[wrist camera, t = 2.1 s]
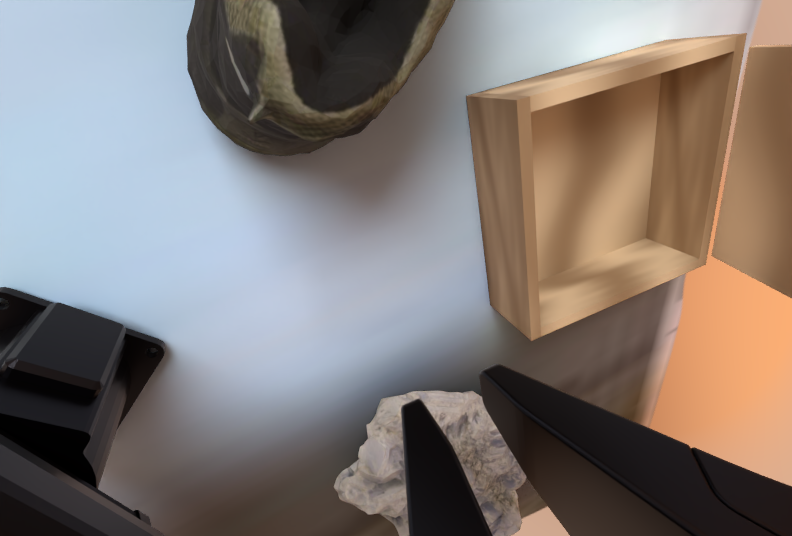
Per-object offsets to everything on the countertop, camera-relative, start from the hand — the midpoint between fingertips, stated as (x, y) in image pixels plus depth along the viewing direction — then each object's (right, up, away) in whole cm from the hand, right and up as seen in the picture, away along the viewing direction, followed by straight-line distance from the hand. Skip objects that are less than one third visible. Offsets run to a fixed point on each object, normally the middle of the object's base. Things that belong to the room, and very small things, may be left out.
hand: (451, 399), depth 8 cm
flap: (+16, +7, +10) cm, 20 cm away
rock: (0, -8, +20) cm, 21 cm away
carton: (+9, +8, +15) cm, 19 cm away
